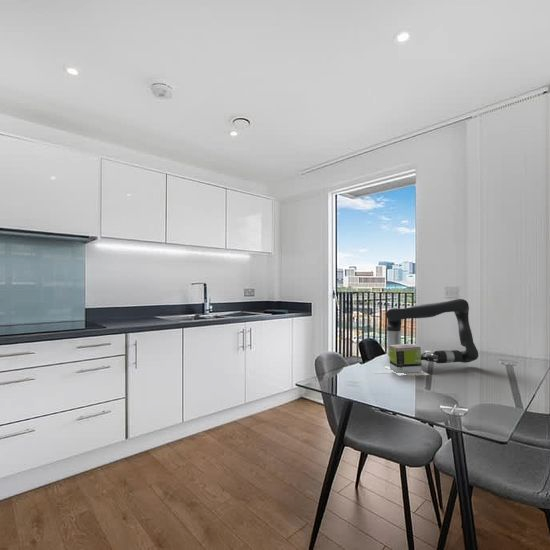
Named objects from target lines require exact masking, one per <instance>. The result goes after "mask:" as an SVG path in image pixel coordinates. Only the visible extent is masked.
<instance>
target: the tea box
mask: <svg viewBox="0 0 550 550" xmlns="http://www.w3.org/2000/svg"><path fill="white" fill-rule="evenodd" d="M421 350H422V349H421V346H419V345H416V344H413V343H406V344H402V343H401V345H389V355H388V356H389V366H390V369H391V370H393V371H394V372H396V373H408V372H422V371H423V369H422V360H421V354H422V353H421Z"/></svg>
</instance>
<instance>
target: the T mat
mask: <svg viewBox="0 0 550 550" xmlns="http://www.w3.org/2000/svg"><path fill="white" fill-rule="evenodd" d="M384 369H385V370H388V369H390V365H389V366H386V365H385V366H384ZM390 370H391V369H390ZM404 374H406V375H412V376H415V375H416V376H429V375H430V373H427V372H425V371H423V370H422V372H408V373H404ZM416 376H415V377H416Z"/></svg>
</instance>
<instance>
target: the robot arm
mask: <svg viewBox="0 0 550 550" xmlns="http://www.w3.org/2000/svg"><path fill="white" fill-rule="evenodd" d="M469 311H470V305H469V302H468V301H467V300H465V299H464V298H456V299H451V300H446V301H440V302H432V303H431V302H430V303H423V304H416V305H413V306H410V307H404V308H398V307H391V308H389V309H388V310H386V314H385V318H386V319H387V324H386V325H387V326H386V333H387V334H386V339H387V341H386V342H387V343H386V344H387V346H386V347H387V349H386V350H387V355H388V356H389V345H401V344H402V320H406V319H408V320H409V319H426V318H434V317H436V316H439V315H442V314H445V313H454V315H455V317H456V319H457V325H458V326H457V327H458V337H459V343H460V345H461V346H462V347H464V348H465V350H461V351H460V350H456V349H454V350H453V349H452V350H447V349H445V350H444V349H441V350H440V349H439V350H435V351H434V352H432V353H431V352H430V353H426V352H423V353H421V361H425V362H432V363H433V362H434V363H436V364H450V363H464V364H465V363H472V362H474V361H476V360H478V358H479V350H478V349H477V347H476V344H475V343H474V339H473V338H474V337H473V333H472V329H471V326H470V321H469V319H470V318H469Z"/></svg>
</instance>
